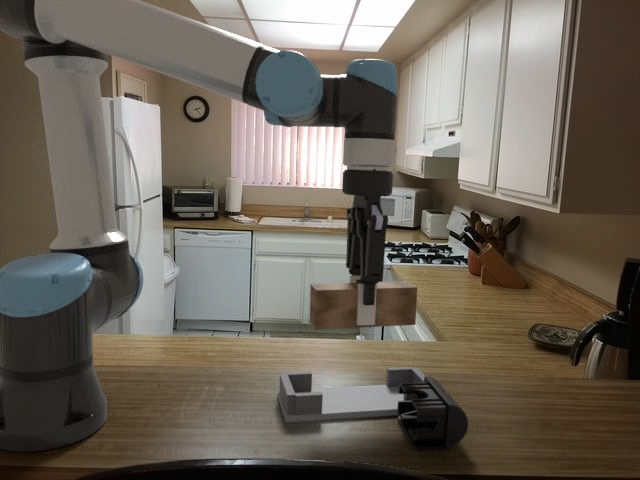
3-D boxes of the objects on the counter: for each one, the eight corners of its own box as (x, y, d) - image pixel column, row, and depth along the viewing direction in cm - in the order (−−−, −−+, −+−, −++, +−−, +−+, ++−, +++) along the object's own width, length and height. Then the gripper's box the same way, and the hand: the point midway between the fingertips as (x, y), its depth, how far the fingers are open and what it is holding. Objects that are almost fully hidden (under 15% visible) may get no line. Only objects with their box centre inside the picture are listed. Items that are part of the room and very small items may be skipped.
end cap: (466, 451, 72) (470, 404, 71) (416, 453, 71) (419, 406, 70) (440, 417, 82) (443, 375, 81) (395, 418, 81) (398, 376, 80)
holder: (285, 422, 78) (286, 396, 78) (277, 396, 87) (278, 372, 86) (437, 412, 83) (439, 388, 83) (415, 388, 92) (416, 366, 92)
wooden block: (315, 329, 80) (316, 290, 79) (309, 321, 83) (310, 284, 83) (415, 324, 83) (417, 287, 82) (405, 317, 87) (407, 281, 86)
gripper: (413, 170, 72) (403, 336, 76) (374, 168, 89) (367, 304, 92) (360, 168, 71) (352, 338, 74) (330, 167, 87) (325, 305, 91)
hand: (361, 319), depth 83 cm, fingers closed on wooden block, 4 cm apart
